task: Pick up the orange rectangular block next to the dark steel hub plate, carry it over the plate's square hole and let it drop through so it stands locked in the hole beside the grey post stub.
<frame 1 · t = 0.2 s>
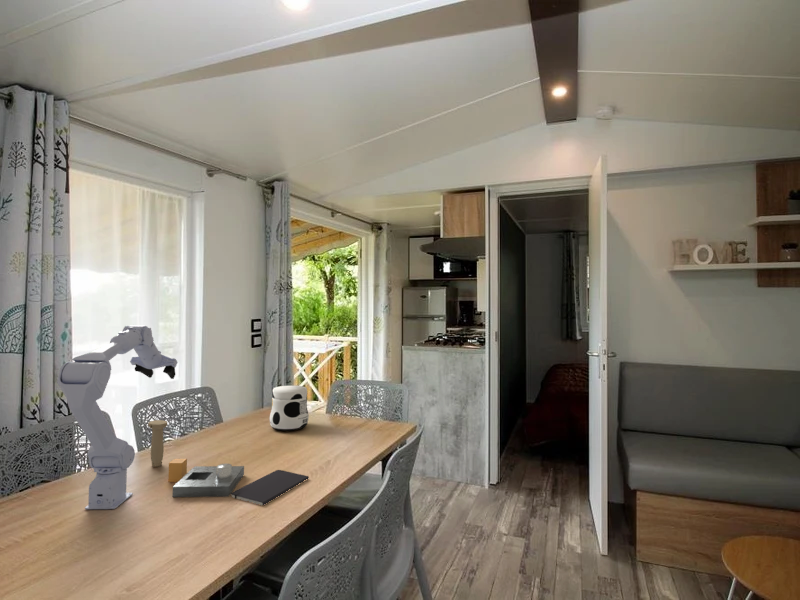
hand: (162, 375, 153), 31 cm above the table, tool tilted 45°, fingers open, 7 cm apart
orange rectangular block: (177, 479, 141), on the table
handle: (156, 466, 152), on the table
hub plate: (210, 485, 136), on the table
milk container: (289, 428, 200), on the table
notebook: (271, 490, 136), on the table
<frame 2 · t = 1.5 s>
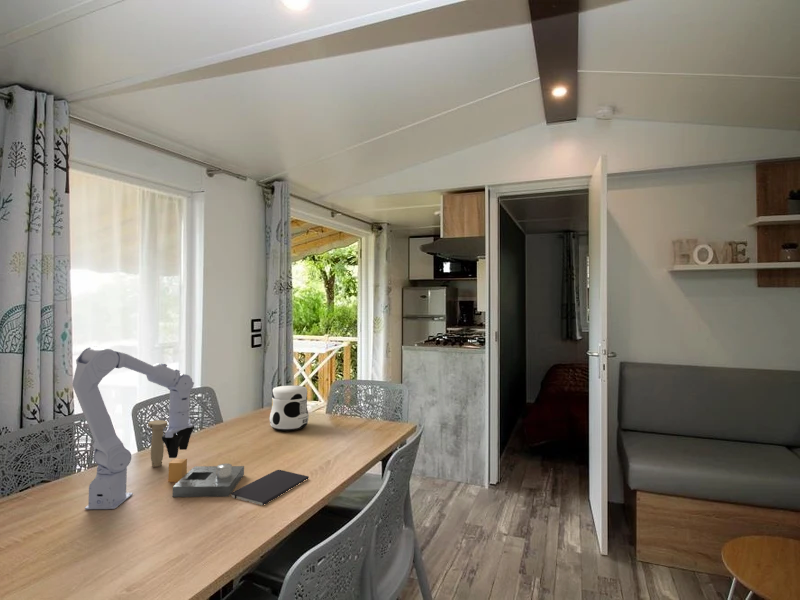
hand: (178, 453, 141), 8 cm above the table, tool pointing down, fingers open, 7 cm apart
nothing on the table moved.
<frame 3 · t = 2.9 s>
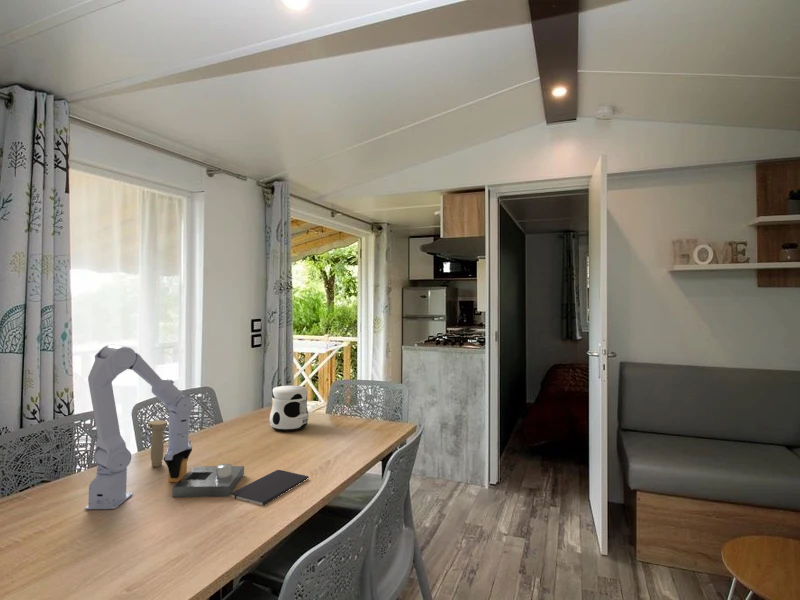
hand: (177, 474, 141), 1 cm above the table, tool pointing down, fingers closed on orange rectangular block, 4 cm apart
orange rectangular block: (177, 479, 141), on the table, touching gripper
everything else where it was.
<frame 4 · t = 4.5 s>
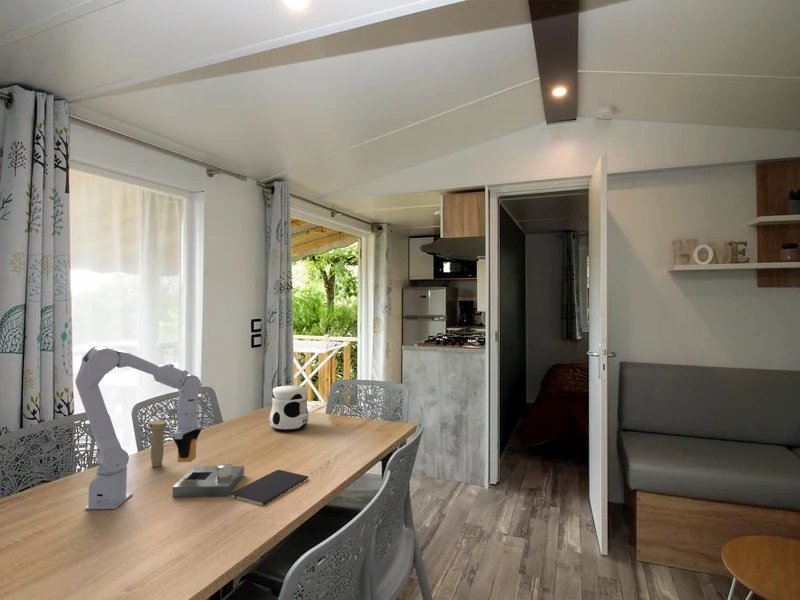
hand: (187, 455, 139), 8 cm above the table, tool pointing down, fingers closed on orange rectangular block, 4 cm apart
orange rectangular block: (186, 459, 139), point 7 cm above the table, touching gripper
everything else where it was.
when the fingers open (4 cm above the table, at t = 6.4 s): orange rectangular block drops 2 cm, resting in hub plate.
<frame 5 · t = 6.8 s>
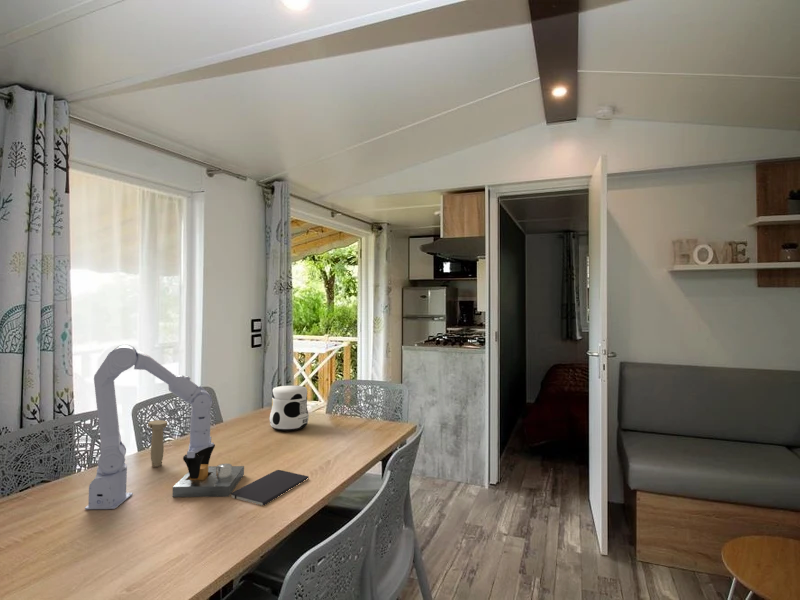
hand: (199, 473, 136), 4 cm above the table, tool pointing down, fingers open, 7 cm apart
orange rectangular block: (198, 485, 136), resting in hub plate
everything else where it was.
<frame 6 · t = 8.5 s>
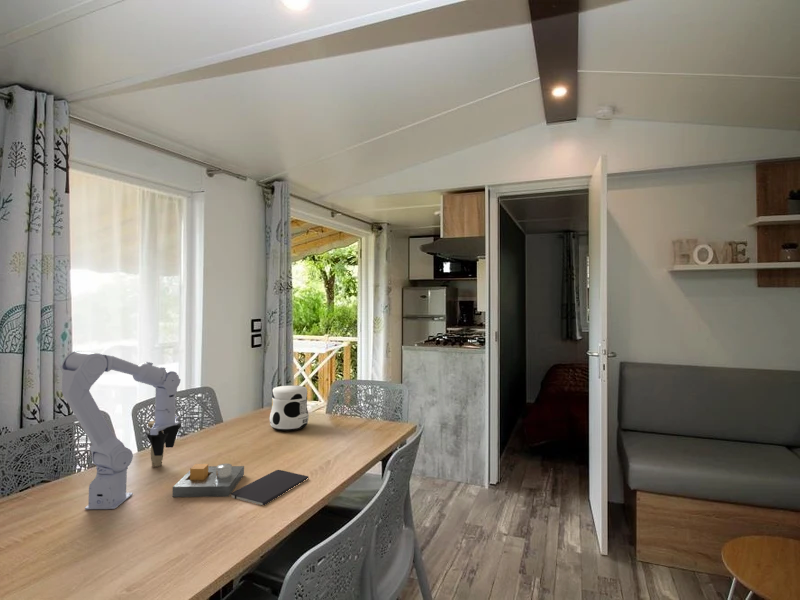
hand: (164, 451, 139), 9 cm above the table, tool pointing down, fingers open, 7 cm apart
nothing on the table moved.
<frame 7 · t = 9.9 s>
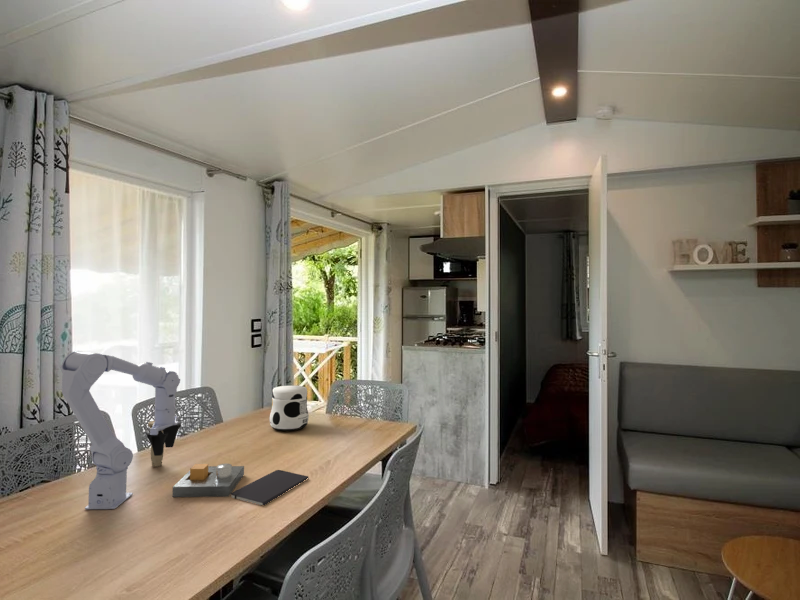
hand: (164, 451, 139), 9 cm above the table, tool pointing down, fingers open, 7 cm apart
nothing on the table moved.
at the end: orange rectangular block 0.0 cm from the target spot on the hub plate, point 0.0 cm above the hub plate's base; orange rectangular block tilted 0°; the gripper is holding nothing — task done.
